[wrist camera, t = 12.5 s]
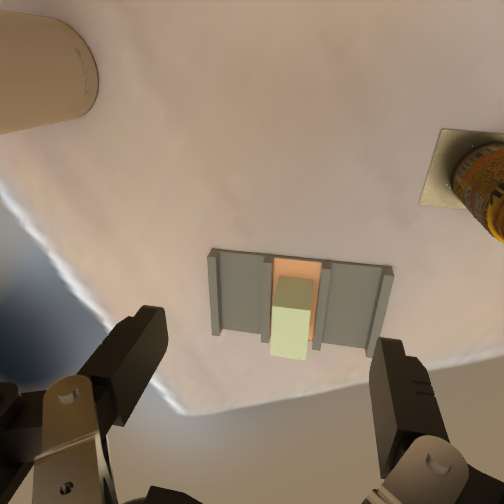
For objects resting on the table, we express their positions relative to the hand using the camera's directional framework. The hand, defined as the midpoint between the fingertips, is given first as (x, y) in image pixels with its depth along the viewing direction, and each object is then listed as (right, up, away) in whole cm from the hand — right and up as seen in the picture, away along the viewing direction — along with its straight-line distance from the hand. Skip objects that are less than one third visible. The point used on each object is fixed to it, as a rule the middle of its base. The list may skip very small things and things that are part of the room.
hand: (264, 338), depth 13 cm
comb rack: (+5, -3, +31) cm, 31 cm away
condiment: (+21, +11, +20) cm, 31 cm away
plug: (+5, -3, +30) cm, 31 cm away
